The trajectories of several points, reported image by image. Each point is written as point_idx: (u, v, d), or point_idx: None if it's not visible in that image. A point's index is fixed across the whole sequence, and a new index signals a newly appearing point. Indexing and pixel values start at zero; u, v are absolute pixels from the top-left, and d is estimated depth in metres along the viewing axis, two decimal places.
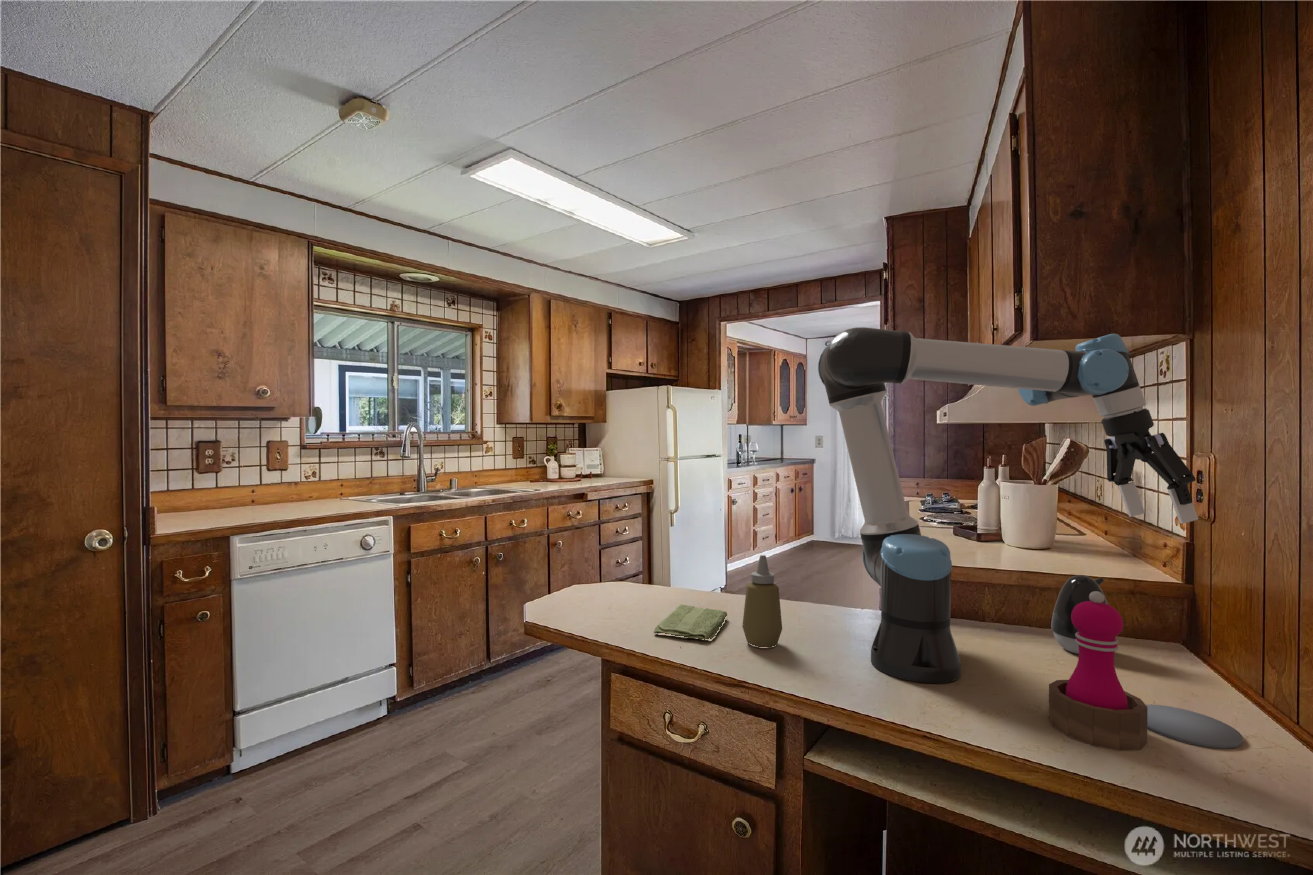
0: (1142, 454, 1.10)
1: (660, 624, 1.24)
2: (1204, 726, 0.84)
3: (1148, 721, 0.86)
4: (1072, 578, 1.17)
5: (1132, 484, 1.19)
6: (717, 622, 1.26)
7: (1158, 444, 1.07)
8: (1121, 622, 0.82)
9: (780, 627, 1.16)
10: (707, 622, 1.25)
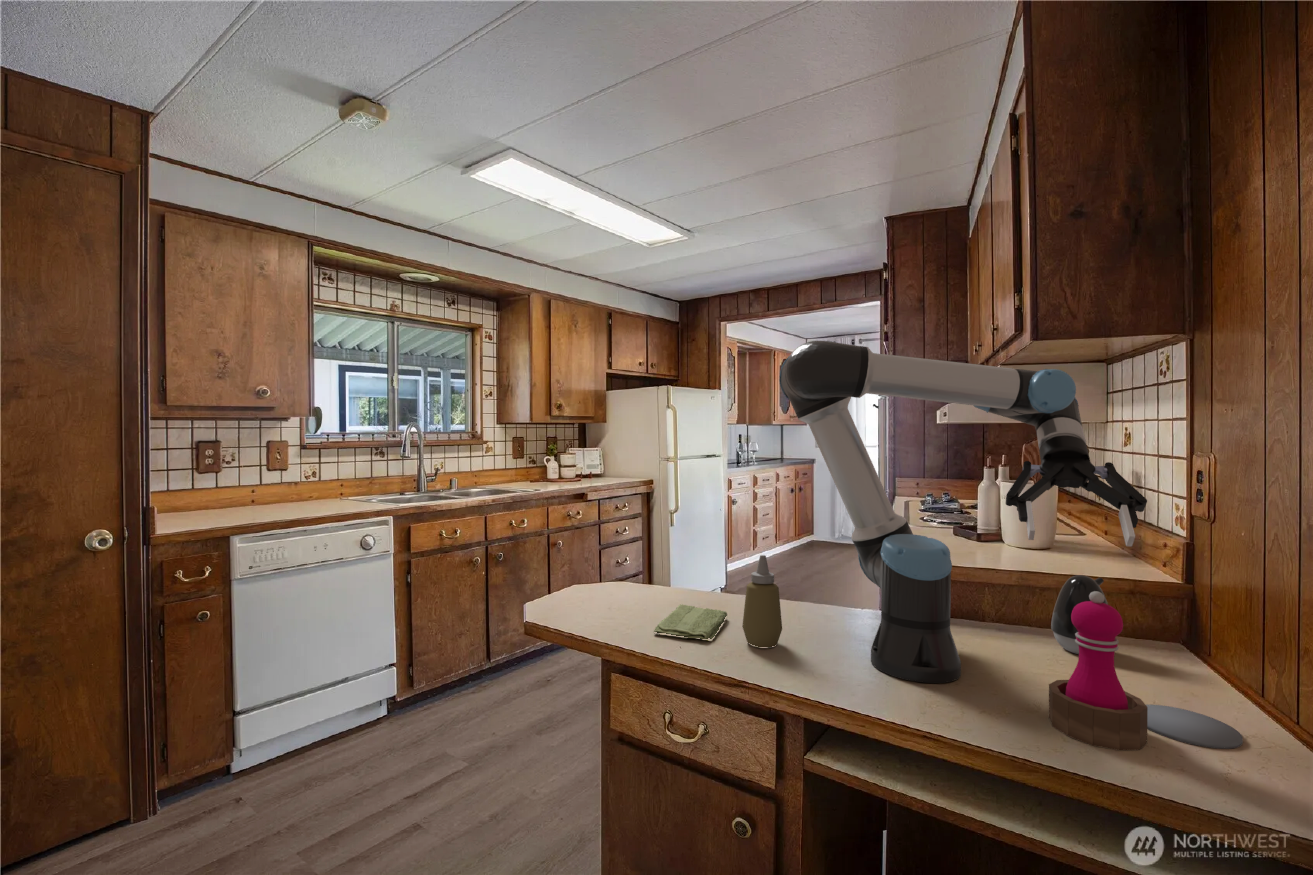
0: None
1: (660, 624, 1.24)
2: (1204, 726, 0.84)
3: (1148, 721, 0.86)
4: (1072, 578, 1.17)
5: None
6: (717, 622, 1.26)
7: None
8: (1121, 622, 0.82)
9: (780, 627, 1.16)
10: (707, 622, 1.25)
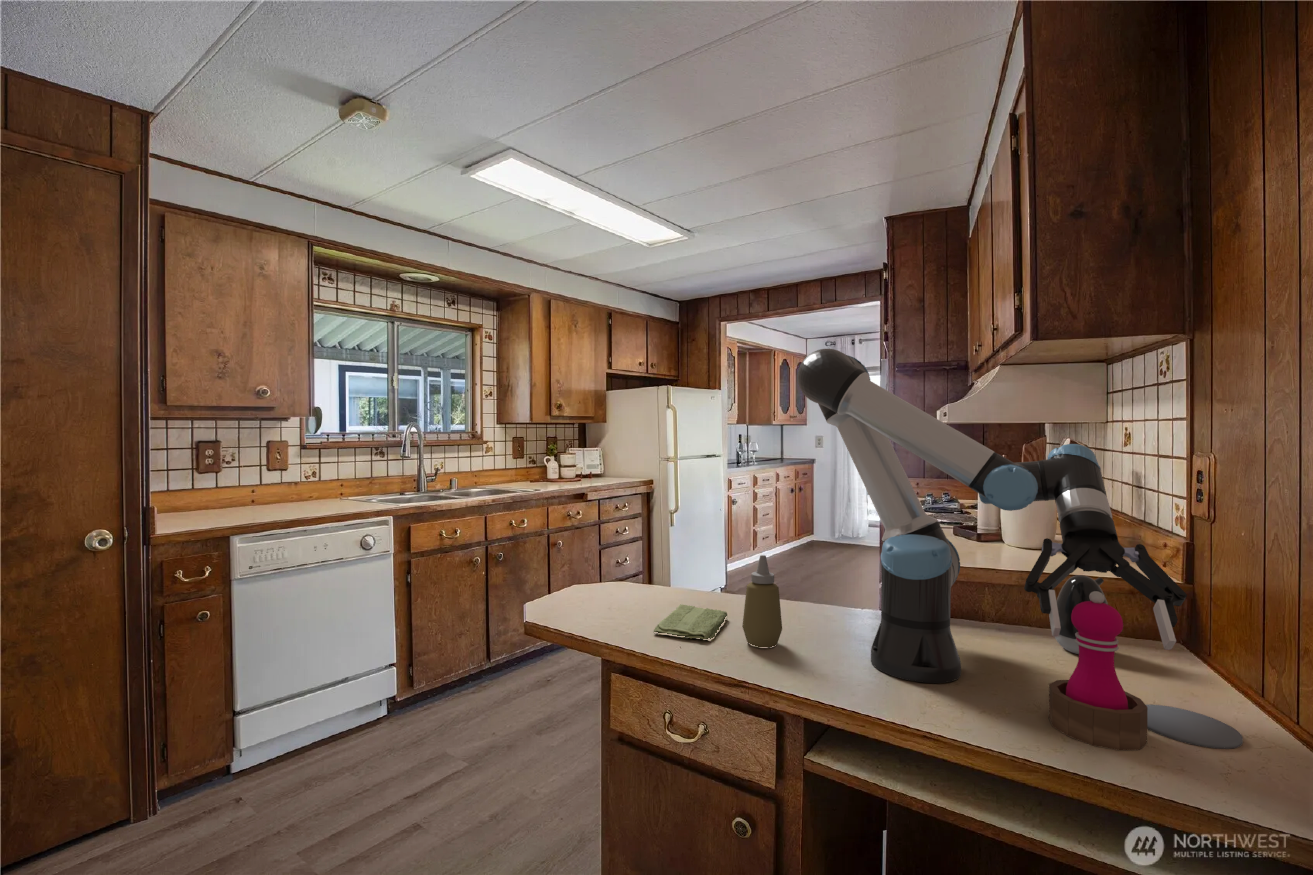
0: None
1: (660, 624, 1.25)
2: (1204, 726, 0.84)
3: (1148, 721, 0.86)
4: (1072, 578, 1.17)
5: None
6: (717, 622, 1.26)
7: None
8: (1121, 622, 0.82)
9: (780, 627, 1.16)
10: (707, 622, 1.25)
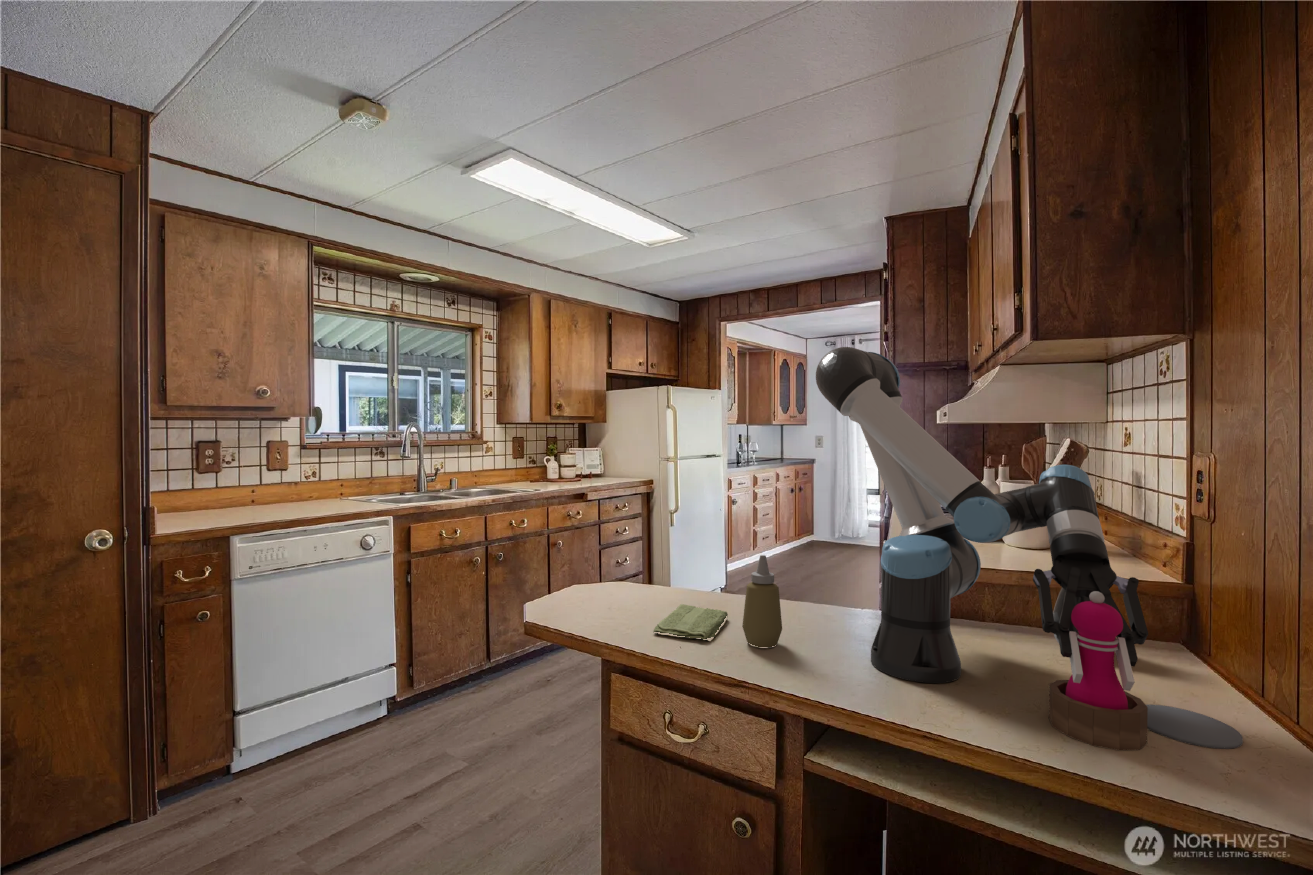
0: None
1: (660, 623, 1.25)
2: (1204, 726, 0.84)
3: (1148, 721, 0.86)
4: None
5: None
6: (717, 622, 1.26)
7: None
8: (1121, 622, 0.82)
9: (780, 627, 1.16)
10: (707, 622, 1.25)
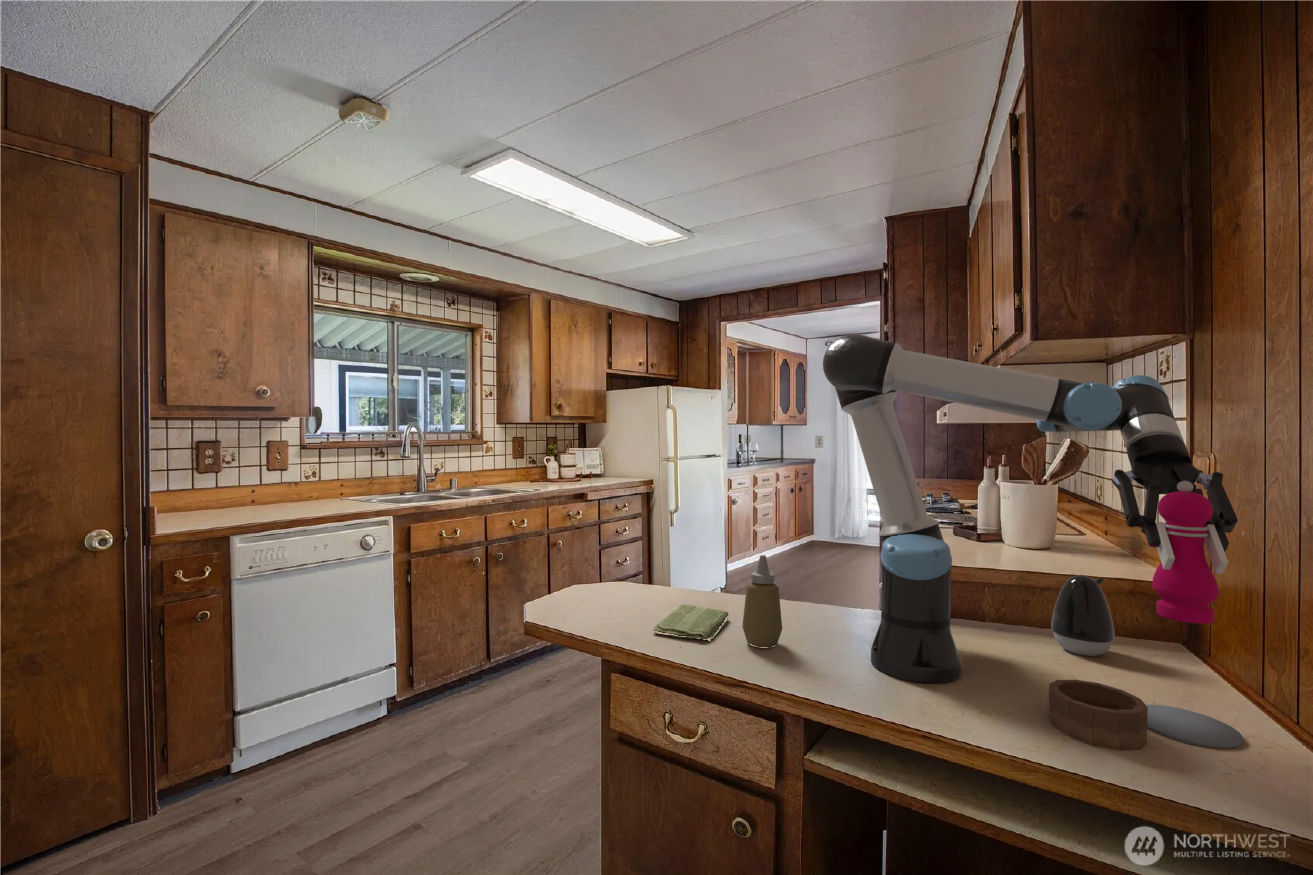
0: None
1: (660, 623, 1.25)
2: (1204, 726, 0.84)
3: (1148, 721, 0.86)
4: (1072, 578, 1.17)
5: None
6: (717, 622, 1.26)
7: None
8: (1212, 508, 0.83)
9: (780, 627, 1.16)
10: (707, 622, 1.25)
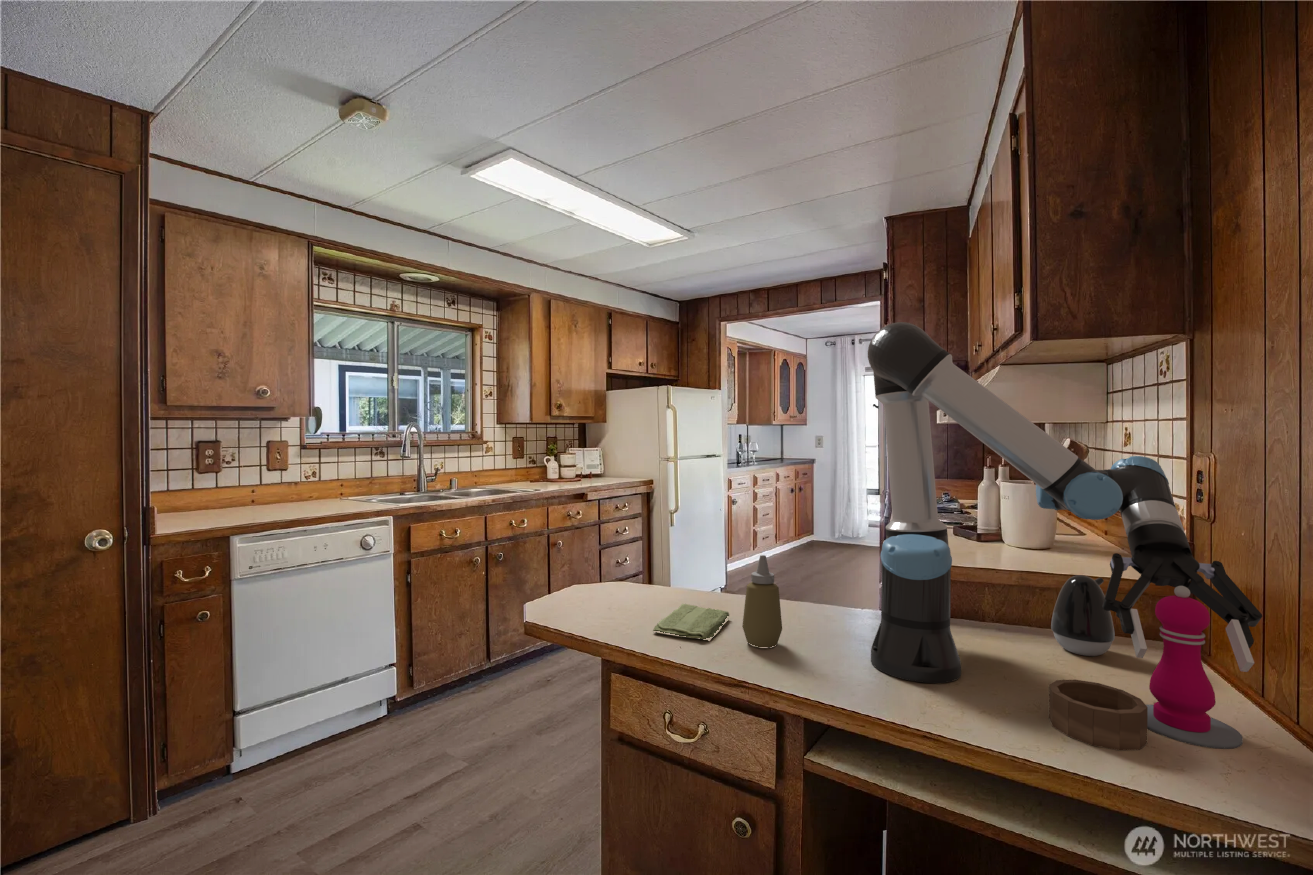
0: None
1: (660, 623, 1.25)
2: None
3: (1148, 721, 0.86)
4: (1072, 578, 1.17)
5: None
6: (717, 622, 1.26)
7: None
8: (1209, 616, 0.83)
9: (780, 627, 1.16)
10: (706, 622, 1.25)
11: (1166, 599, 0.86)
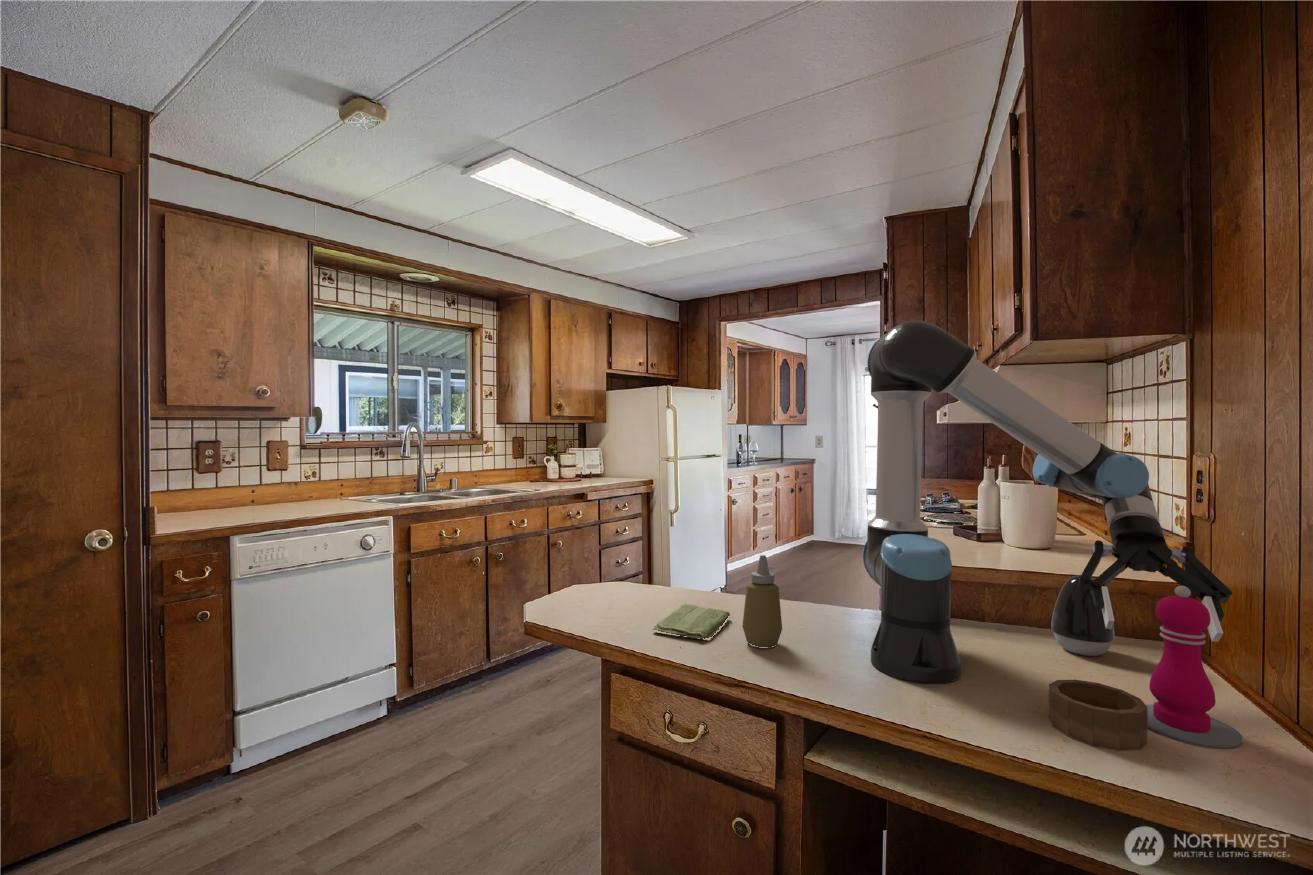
0: None
1: (659, 622, 1.25)
2: None
3: (1148, 721, 0.86)
4: (1072, 578, 1.17)
5: None
6: (717, 622, 1.26)
7: None
8: (1209, 616, 0.83)
9: (780, 627, 1.16)
10: (706, 622, 1.25)
11: (1166, 599, 0.86)
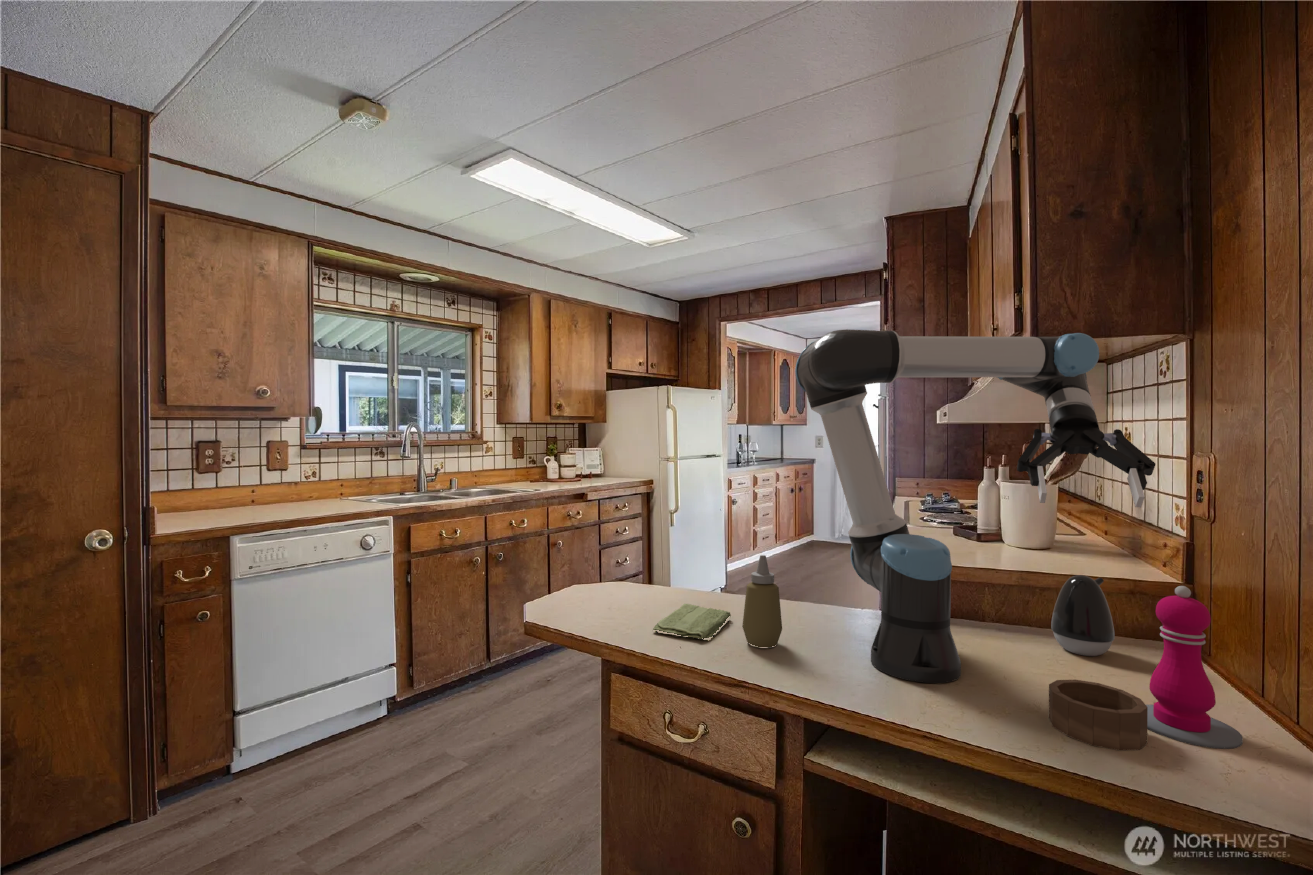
0: None
1: (659, 622, 1.26)
2: None
3: (1148, 721, 0.86)
4: (1072, 578, 1.17)
5: None
6: (717, 622, 1.26)
7: None
8: (1209, 616, 0.83)
9: (780, 627, 1.16)
10: (706, 622, 1.25)
11: (1167, 599, 0.86)
